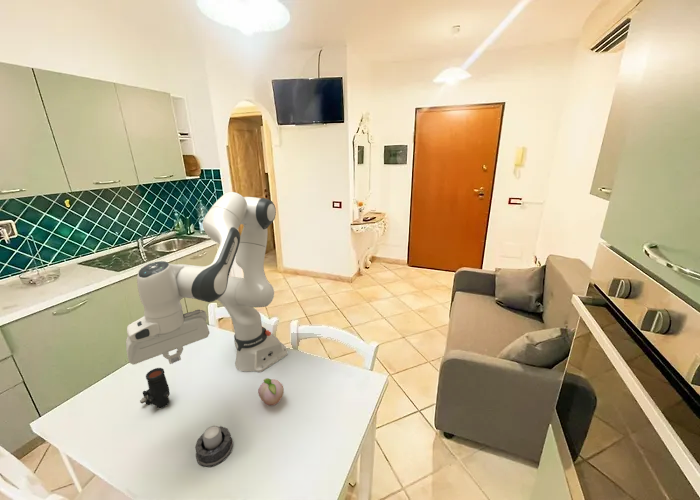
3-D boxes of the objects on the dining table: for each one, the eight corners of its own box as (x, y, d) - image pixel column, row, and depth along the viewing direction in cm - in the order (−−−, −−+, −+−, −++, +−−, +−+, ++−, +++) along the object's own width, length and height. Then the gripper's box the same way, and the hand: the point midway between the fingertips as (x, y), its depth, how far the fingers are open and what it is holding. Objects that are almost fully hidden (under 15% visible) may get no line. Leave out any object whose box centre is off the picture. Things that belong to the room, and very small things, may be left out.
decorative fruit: (289, 402, 108) (287, 380, 105) (270, 416, 102) (267, 393, 99) (275, 389, 114) (273, 368, 111) (256, 402, 108) (253, 379, 105)
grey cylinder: (220, 437, 94) (217, 422, 92) (225, 448, 90) (223, 432, 88) (203, 446, 91) (200, 431, 89) (208, 459, 87) (205, 443, 85)
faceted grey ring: (226, 428, 98) (224, 419, 96) (238, 451, 90) (236, 441, 89) (192, 448, 91) (189, 438, 90) (202, 474, 84) (199, 464, 82)
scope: (153, 361, 109) (173, 367, 106) (161, 391, 113) (180, 398, 110) (131, 376, 102) (152, 383, 98) (140, 407, 106) (160, 415, 103)
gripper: (202, 303, 91) (209, 341, 95) (119, 328, 78) (131, 371, 82) (208, 311, 86) (215, 351, 90) (122, 339, 73) (134, 383, 78)
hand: (175, 361), depth 86 cm, fingers closed
